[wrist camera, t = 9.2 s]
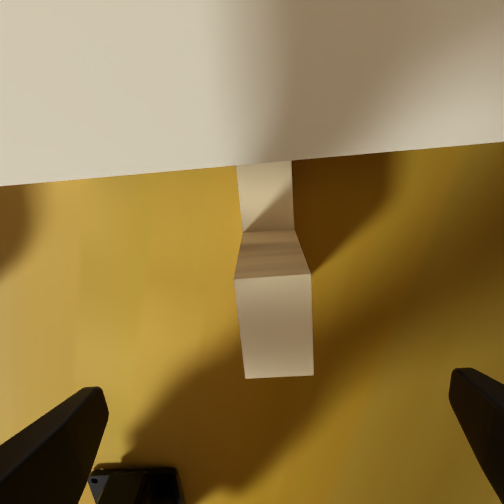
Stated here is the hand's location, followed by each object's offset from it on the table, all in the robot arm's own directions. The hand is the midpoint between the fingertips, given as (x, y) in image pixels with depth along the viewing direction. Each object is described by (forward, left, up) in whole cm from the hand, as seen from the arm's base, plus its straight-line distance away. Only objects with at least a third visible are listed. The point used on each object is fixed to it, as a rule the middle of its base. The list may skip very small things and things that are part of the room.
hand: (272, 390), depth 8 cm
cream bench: (+8, 0, -10) cm, 13 cm away
